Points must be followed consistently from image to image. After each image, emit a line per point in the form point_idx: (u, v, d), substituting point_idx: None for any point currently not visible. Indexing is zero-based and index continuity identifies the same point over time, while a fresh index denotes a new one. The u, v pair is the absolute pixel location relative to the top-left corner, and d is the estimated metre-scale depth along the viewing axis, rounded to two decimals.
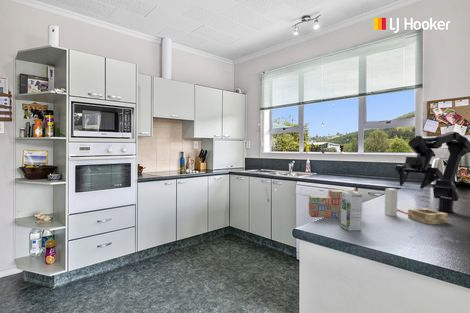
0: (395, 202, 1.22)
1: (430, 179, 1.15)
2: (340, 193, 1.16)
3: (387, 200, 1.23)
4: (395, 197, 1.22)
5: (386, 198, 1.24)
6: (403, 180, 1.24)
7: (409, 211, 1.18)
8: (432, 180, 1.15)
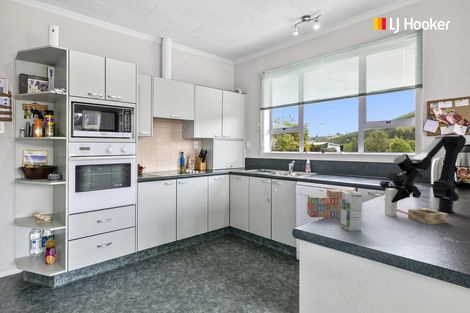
0: (395, 202, 1.22)
1: (403, 195, 1.21)
2: (339, 193, 1.17)
3: (387, 200, 1.23)
4: None
5: (386, 198, 1.24)
6: None
7: (409, 211, 1.18)
8: (405, 196, 1.20)
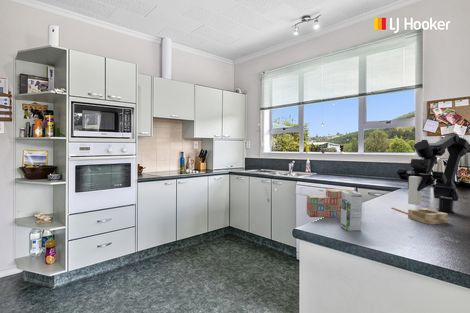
0: None
1: (427, 182, 1.15)
2: (338, 193, 1.17)
3: (412, 188, 1.16)
4: None
5: (410, 186, 1.17)
6: None
7: (409, 211, 1.18)
8: (429, 184, 1.15)
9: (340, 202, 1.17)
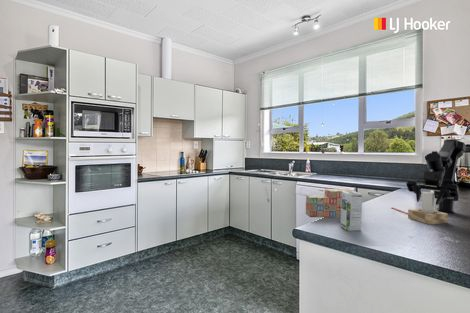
0: (433, 206, 1.14)
1: (444, 196, 1.13)
2: (337, 192, 1.18)
3: (425, 205, 1.14)
4: (433, 201, 1.13)
5: (424, 203, 1.14)
6: (419, 196, 1.18)
7: (409, 211, 1.18)
8: (445, 197, 1.13)
9: (339, 202, 1.18)
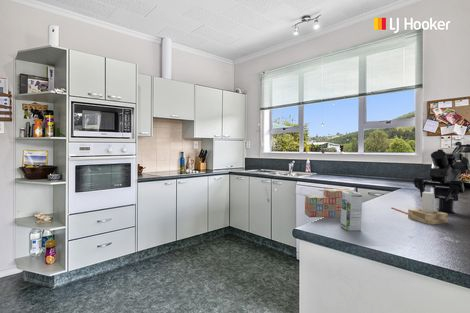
0: (433, 206, 1.14)
1: (452, 192, 1.17)
2: (336, 192, 1.18)
3: (425, 205, 1.14)
4: (433, 201, 1.13)
5: (423, 203, 1.14)
6: None
7: (409, 211, 1.18)
8: (454, 193, 1.17)
9: (338, 202, 1.18)
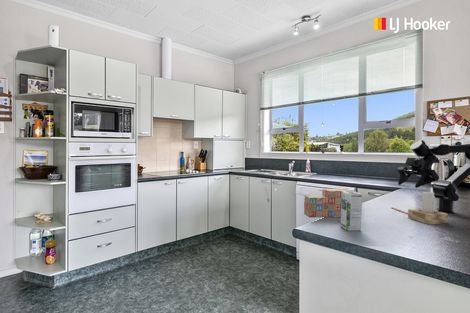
0: (433, 206, 1.14)
1: (426, 180, 1.22)
2: (336, 192, 1.18)
3: (425, 205, 1.14)
4: (433, 201, 1.13)
5: (423, 203, 1.14)
6: (402, 180, 1.32)
7: (409, 211, 1.18)
8: (428, 181, 1.22)
9: (337, 201, 1.19)
